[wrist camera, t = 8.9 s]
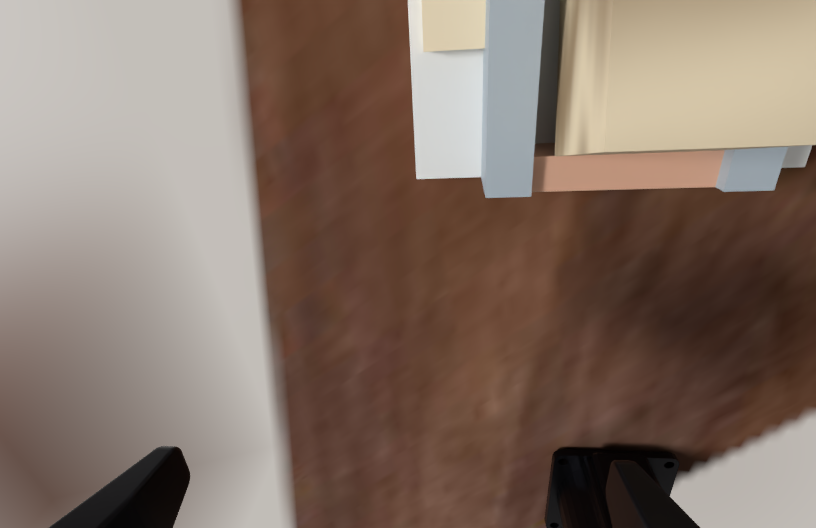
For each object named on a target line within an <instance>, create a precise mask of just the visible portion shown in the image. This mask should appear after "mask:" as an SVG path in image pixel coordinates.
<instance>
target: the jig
mask: <svg viewBox="0 0 816 528" xmlns="http://www.w3.org/2000/svg"><path fill="white" fill-rule="evenodd" d="M408 15H409V36H410V56H411V77H412V97H413V118H414V138H415V159H416V179H434V178H467V177H481V179H482V183H483V188H484V193H485V198H500V197H531V192H549V191H585V190H622V189H659V188H696V187H716V188H718V189H720V190H721V191H723V192H730V191H769V190H774V189H775V186H776V183H777V180H778V177H779V174H780V170H781V168H792V167H805V165H806V162H807V160H808V157H809V154H810V151H811V148H812V145H806V146H788V147H770V148H752V149H734V150H716V151H697V152H667V153H638V154H609V155H580V156H555V133H556V104H557V76H558V47H559V19H560V0H408Z"/></svg>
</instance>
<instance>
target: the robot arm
mask: <svg viewBox="0 0 816 528" xmlns="http://www.w3.org/2000/svg"><path fill="white" fill-rule="evenodd" d="M563 458H564V459H563ZM678 467H679V462H678V460H677V458H676V456H675V455H674V454H672V453H668V452H636V451H602V450H568V449H561V450H557V451H555V452H554V453H553V456H552V464H551V472H550V480H549V488H548V496H547V504H546V512H545V523H546V527H547V528H700V527H699V526H698V525H697V524H696V523H695V522H694V521H693V520H692V519H691V518H690V517H689V516H688V515H687V514H686V513H685V512H684V511H683V510H682V509H681V508H680V507H679V506H678V505H677V504H676V503H675V502H674V501H673V500H672V499H671V498H670V493H671V490H672V487H673V484H674V480H675V477H676V474H677V471H678ZM189 481H190V472H189V469H188V466H187V464H186V461H185V459H184V456H183V454H182V451H181V449H180V448H178V447H171V446H170V447H169V446H161V447H158V448H156V449H155V450H153V451H152V452H151V453H150V454H148V455H147V456H146V457H144V458H143V459H141V460H140V461H139V462H137V463H136V464H134V465H133V466H132V467H130V468H129V469H128V470H126V471H125V472H124V473H122V474H121V475H120V476H118V477H117V478H115V479H114V480H113V481H111V482H110V483H109V484H107V485H106V486H105V487H103V488H102V489H101V490H99V491H98V492H96V493H95V494H94V495H92V496H91V497H90V498H88V499H87V500H86V501H84V502H83V503H81V504H80V505H79V506H78V507H76V508H75V509H73V510H72V511H71V512H69V513H68V514H67V515H65V516H64V517H62V518H61V519H60V520H59V521H57V522H56V523H54V524H53V525H52V526H50V527H49V528H173V525H174V523H175V520H176V517H177V515H178V512H179V509H180V506H181V504H182V501H183V498H184V496H185V493H186V490H187V487H188V484H189Z"/></svg>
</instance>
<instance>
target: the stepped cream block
mask: <svg viewBox="0 0 816 528" xmlns="http://www.w3.org/2000/svg"><path fill="white" fill-rule="evenodd" d="M806 145H816V0H560V19H559V47H558V76H557V104H556V133H555V156H580V155H609V154H638V153H667V152H697V151H716V150H734V149H752V148H770V147H788V146H806Z"/></svg>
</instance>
